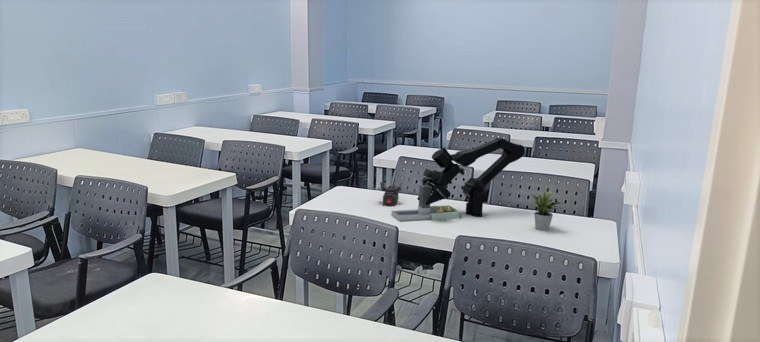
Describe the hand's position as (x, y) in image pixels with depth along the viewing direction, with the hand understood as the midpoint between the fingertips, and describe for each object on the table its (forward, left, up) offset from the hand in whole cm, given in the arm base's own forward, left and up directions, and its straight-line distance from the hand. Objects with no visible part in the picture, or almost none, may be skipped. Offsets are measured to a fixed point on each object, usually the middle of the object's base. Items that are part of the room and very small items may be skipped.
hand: (421, 202), depth 225 cm
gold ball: (-13, -6, -5) cm, 15 cm away
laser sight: (+15, -25, -7) cm, 30 cm away
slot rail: (-2, -1, -7) cm, 7 cm away
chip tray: (-8, -4, -7) cm, 11 cm away
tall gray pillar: (-1, 0, -6) cm, 6 cm away
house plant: (-48, +7, -7) cm, 48 cm away
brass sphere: (-9, -3, -4) cm, 11 cm away
